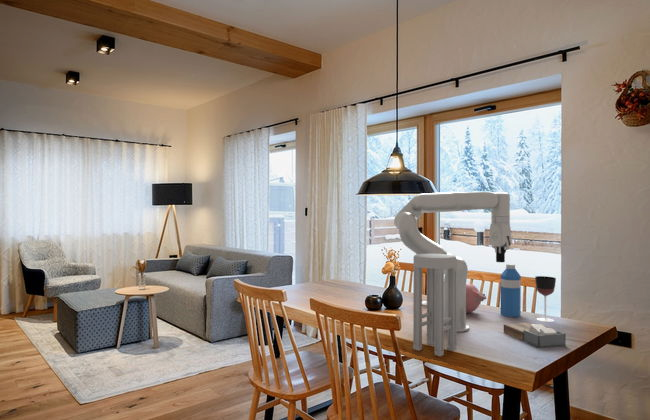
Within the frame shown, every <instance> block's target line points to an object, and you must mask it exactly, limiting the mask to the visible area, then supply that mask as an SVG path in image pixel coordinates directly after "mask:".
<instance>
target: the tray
mask: <svg viewBox="0 0 650 420" xmlns="http://www.w3.org/2000/svg"><path fill="white" fill-rule="evenodd" d="M554 330H555V331H556V332H557V334H552V335H536V334H534V333H531V332H529V331H526V330H524V334H523V341H522V342H524V343H527V344H529V345H530V346H531V345H532V346H533V347H536V348H538V349H539V348H540V349H542V348H552V347H553V348H554V347H555V348H556V347H565V346H566V342H567V341H566V340H567V338H566V333H564V332H561V331H559V330H557V329H554Z"/></svg>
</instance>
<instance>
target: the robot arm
mask: <svg viewBox="0 0 650 420" xmlns="http://www.w3.org/2000/svg"><path fill="white" fill-rule="evenodd" d="M510 196H511V195H510V193H508V192H504V191H502V192H493V191H473V192H472V191H471V192H469V191H468V192H461V191H460V192H459V191H450V192H449V191H448V192H432V193H431V192H430V193H425V192H424V193H420V194H419V193H418V194H416V195H414V196H413V197H412V198H411V200H409V201H408V203H406V205H404V207H402V209H401V210H400V211H399V212H398V213H397V214H396V215H395V216H394V219H393V220H394V221H393V224H394V226H395V227H396V229H398V233H399V237H400V240H401V242H402V244H403V245H404V246H405V247H407V248H408V249H409V250H410V251H412V252H413V253H414V254H415V255H416V254H448V255H452V254H451V253H449V252H448V251H446V249H444V248H443V246H441V245H440V244H439V243H436V242H435V241H433V240H432V239H430V238H429V237H427V236H425V235H424V234H423V233H421V231H420V230H419V228H418V227H419V226H418V219H419V218H420V217H422V215H423V214H424V213H426V214H429V213H431V214H432V213H451V212H462V211H472V210H491V218H490V219H491V221H490V226H489V233H488V244H489V245H490V246H491V248H493V249H494V253H495V261H496V263H505V262H506V258H505V257H506V252H507V251H508V250H510V246H512V230H511V228H512V227H511V215H510V214H511V213H510V212H511V209H510V208H511V205H510V204H511V202H510V201H511V199H510V198H511V197H510ZM455 256H456V258H457V268H456V333H463V332H469V330H470V329H471V328H470V326H469V324H467V313H466V282H467V279H468V271H469V270H468V264H467V262H466V261H465V260H464V259H463V258H461V257H460V256H457V255H455ZM446 317H448V269H444V318H446ZM447 325H448V321H447V322H444V326H447ZM446 331H447V332H448V330H446Z"/></svg>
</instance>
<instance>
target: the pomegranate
mask: <svg viewBox="0 0 650 420" xmlns="http://www.w3.org/2000/svg"><path fill="white" fill-rule="evenodd" d="M484 300H487V296H486V294H485V293H484V292H483V293H481V292H480V290H479V289H478V287H476V285H474V284H472V283H470V282H467V281H466V314H469V313H474V312H475V311H476V310H477V309H478V308H479V306H480V304H481V302H484Z"/></svg>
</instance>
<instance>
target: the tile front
mask: <svg viewBox="0 0 650 420" xmlns="http://www.w3.org/2000/svg"><path fill="white" fill-rule="evenodd" d="M555 330H556V329H553V328H552V327H546V328H543V329H540V332H539V335H552V334H557V332H556V331H557V330H556V331H555Z"/></svg>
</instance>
